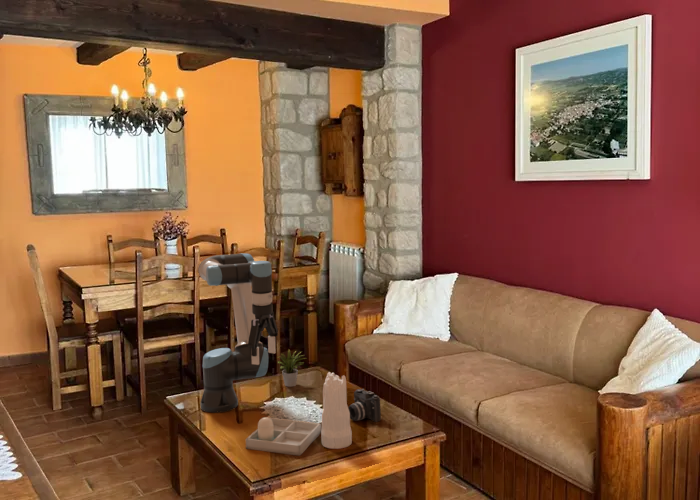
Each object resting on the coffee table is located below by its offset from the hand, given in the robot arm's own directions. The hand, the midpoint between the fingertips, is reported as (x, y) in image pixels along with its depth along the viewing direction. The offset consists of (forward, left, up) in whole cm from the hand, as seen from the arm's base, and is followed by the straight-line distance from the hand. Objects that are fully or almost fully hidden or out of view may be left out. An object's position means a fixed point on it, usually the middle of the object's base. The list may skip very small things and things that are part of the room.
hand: (264, 358), depth 250 cm
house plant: (-10, +45, -27) cm, 53 cm away
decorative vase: (+30, -6, -27) cm, 41 cm away
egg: (+7, -15, -26) cm, 30 cm away
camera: (+32, +18, -27) cm, 46 cm away
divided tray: (+12, -10, -27) cm, 31 cm away
